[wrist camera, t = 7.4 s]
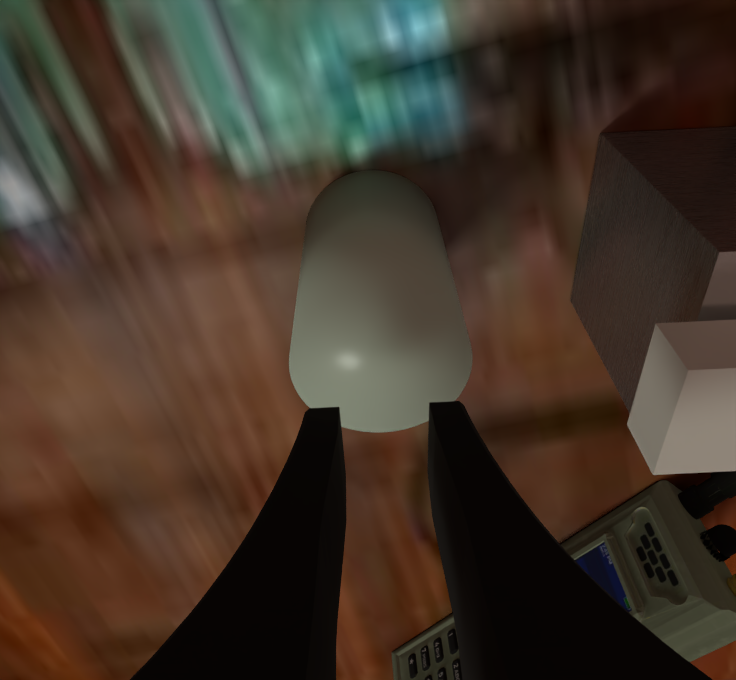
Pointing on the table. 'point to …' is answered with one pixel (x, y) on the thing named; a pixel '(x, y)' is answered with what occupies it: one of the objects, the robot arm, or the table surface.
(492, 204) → the table surface
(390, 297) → the plug
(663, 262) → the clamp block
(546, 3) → the table surface
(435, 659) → the handheld radio
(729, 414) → the pale grey rectangular box
